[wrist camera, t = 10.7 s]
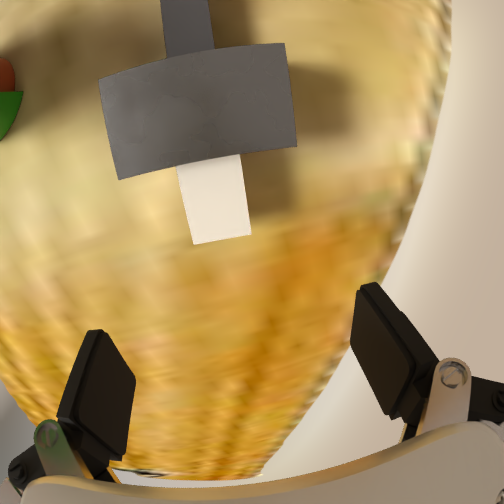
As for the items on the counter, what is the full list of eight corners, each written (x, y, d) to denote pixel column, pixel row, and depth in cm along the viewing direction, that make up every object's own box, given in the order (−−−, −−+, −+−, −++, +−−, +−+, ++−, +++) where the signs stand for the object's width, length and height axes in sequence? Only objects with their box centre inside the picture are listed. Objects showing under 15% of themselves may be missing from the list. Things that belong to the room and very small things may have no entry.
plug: (156, -27, 12) (146, -49, 8) (207, -37, 12) (207, -61, 8) (196, 222, 22) (193, 244, 19) (245, 213, 23) (251, 234, 19)
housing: (129, 86, 16) (98, 79, 11) (263, 61, 17) (284, 43, 11) (143, 160, 19) (118, 180, 14) (273, 136, 20) (297, 146, 14)
